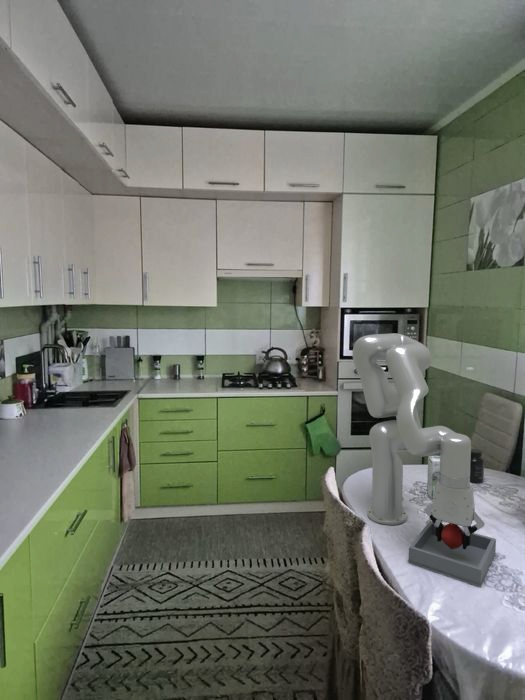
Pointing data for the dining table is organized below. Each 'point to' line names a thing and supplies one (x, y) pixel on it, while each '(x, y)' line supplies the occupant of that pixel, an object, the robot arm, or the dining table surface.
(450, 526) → the onion
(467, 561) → the tray
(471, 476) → the supplement bottle
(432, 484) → the syrup box
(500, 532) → the dining table surface
